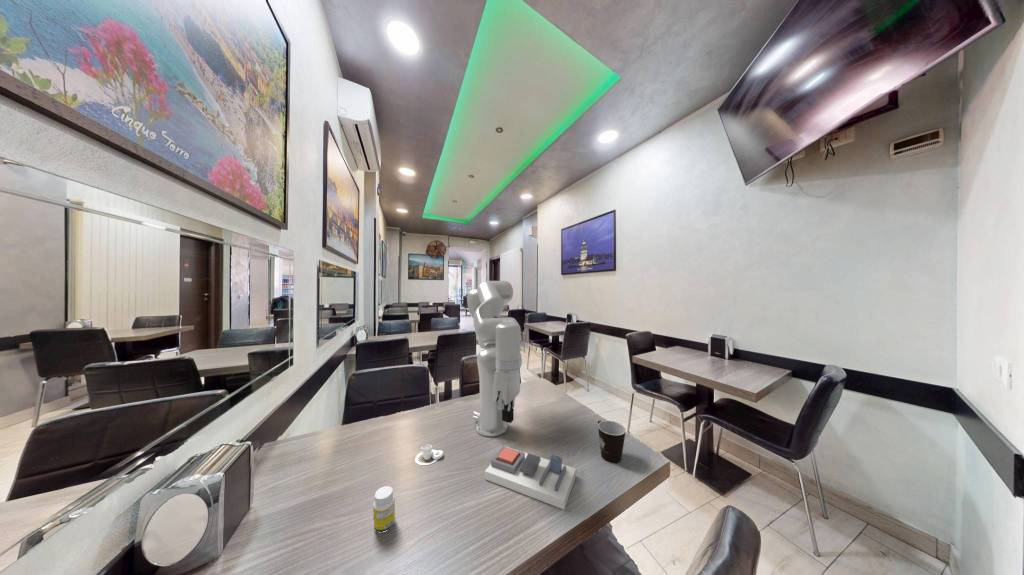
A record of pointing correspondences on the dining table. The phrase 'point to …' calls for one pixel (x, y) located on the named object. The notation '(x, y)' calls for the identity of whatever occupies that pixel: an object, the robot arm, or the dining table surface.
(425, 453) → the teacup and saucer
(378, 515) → the supplement bottle
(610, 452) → the coffee mug
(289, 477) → the dining table surface
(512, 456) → the button
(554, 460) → the paddle
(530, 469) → the block
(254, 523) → the dining table surface
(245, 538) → the dining table surface
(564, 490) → the panel
